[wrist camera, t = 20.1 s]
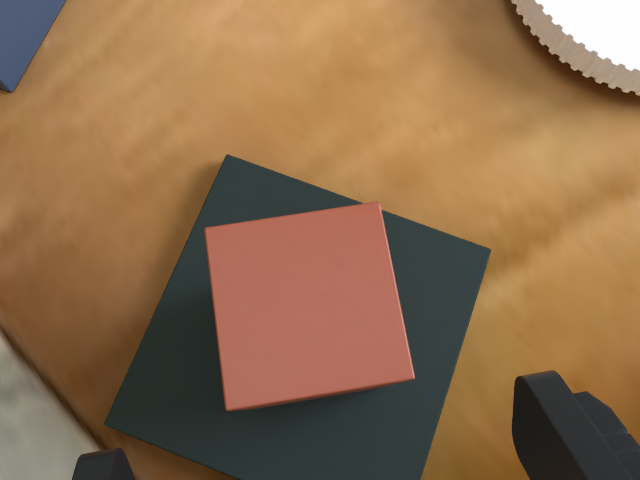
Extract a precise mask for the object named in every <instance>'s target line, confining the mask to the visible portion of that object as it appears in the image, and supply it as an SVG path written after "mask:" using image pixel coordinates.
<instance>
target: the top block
mask: <svg viewBox="0 0 640 480" xmlns="http://www.w3.org/2000/svg"><path fill="white" fill-rule="evenodd" d="M204 232H205V240H206V249H207V257H208V266H209V274H210V283H211V291H212V300H213V308H214V317H215V325H216V333H217V342H218V350H219V359H220V367H221V376H222V384H223V393H224V401H225V409H226V411H236V410H249V409H258V408H264V407H270V406H276V405H282V404H288V403H294V402H299V401H305V400H311V399H317V398H323V397H329V396H335V395H341V394H347V393H352V392H358V391H364V390H370V389H376V388H381V387H385V386H389V385H394V384H398V383H402V382H406V381H410V380H413V379H415V375H414V370H413V365H412V360H411V355H410V350H409V345H408V340H407V335H406V330H405V325H404V320H403V315H402V310H401V305H400V300H399V295H398V290H397V285H396V280H395V275H394V270H393V265H392V260H391V256H390V251H389V246H388V241H387V236H386V231H385V226H384V221H383V216H382V211H381V206H380V203H379V202H371V203H365V204H358V205H352V206H345V207H338V208H332V209H325V210H319V211H312V212H305V213H299V214H292V215H286V216H279V217H272V218H266V219H259V220H253V221H246V222H239V223H233V224H226V225H220V226H213V227H206V228H205V229H204Z"/></svg>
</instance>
